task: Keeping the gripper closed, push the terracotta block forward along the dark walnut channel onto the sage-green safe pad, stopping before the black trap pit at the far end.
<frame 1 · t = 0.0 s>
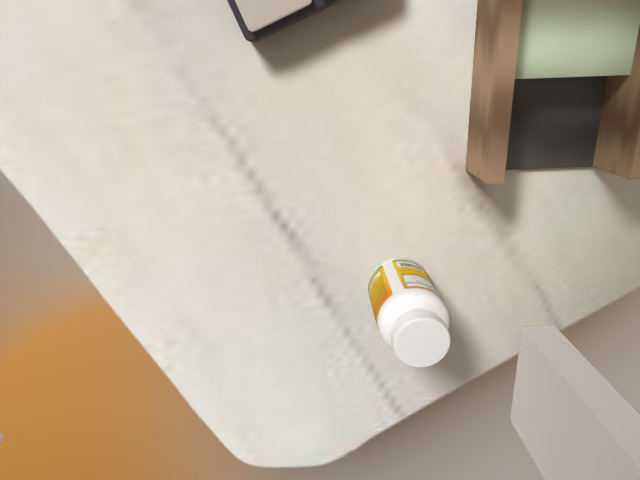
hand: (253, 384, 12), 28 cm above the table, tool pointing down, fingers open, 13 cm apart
supplement bottle: (397, 283, 42), on the table
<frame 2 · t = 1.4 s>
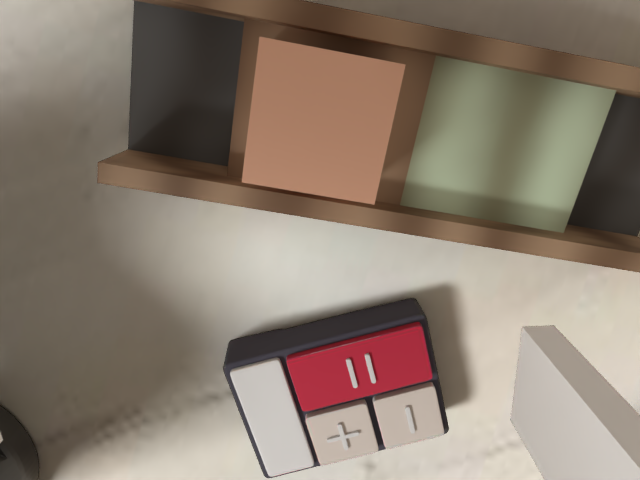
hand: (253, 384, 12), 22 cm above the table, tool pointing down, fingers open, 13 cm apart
calculator: (337, 373, 38), on the table
block: (319, 116, 28), point 3 cm above the table, touching trap channel
trap channel: (407, 128, 31), on the table
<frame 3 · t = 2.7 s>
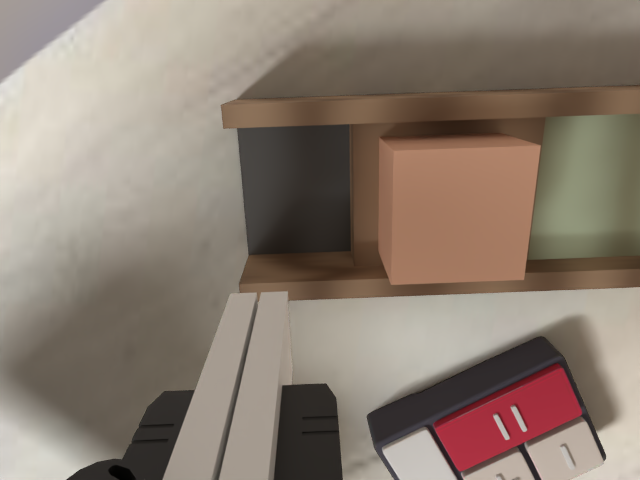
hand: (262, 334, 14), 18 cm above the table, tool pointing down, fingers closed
calculator: (476, 420, 38), on the table
block: (436, 194, 28), point 3 cm above the table, touching trap channel
trap channel: (516, 179, 31), on the table
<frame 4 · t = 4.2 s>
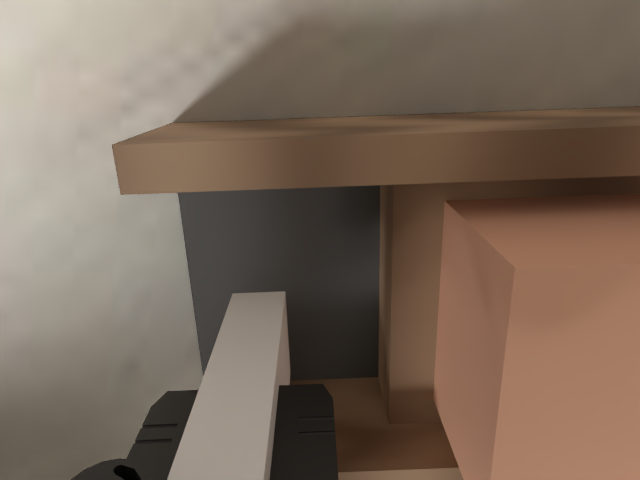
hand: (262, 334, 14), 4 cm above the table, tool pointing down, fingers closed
block: (548, 303, 15), point 3 cm above the table, touching trap channel
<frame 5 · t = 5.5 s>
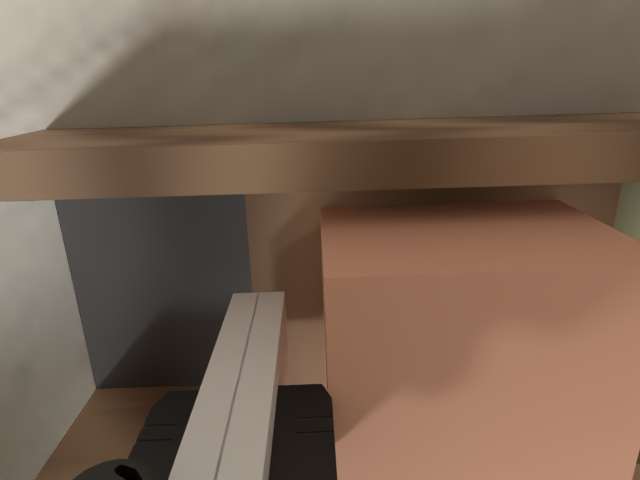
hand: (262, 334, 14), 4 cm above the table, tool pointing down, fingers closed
block: (433, 310, 15), point 3 cm above the table, touching gripper
trap channel: (552, 268, 18), on the table
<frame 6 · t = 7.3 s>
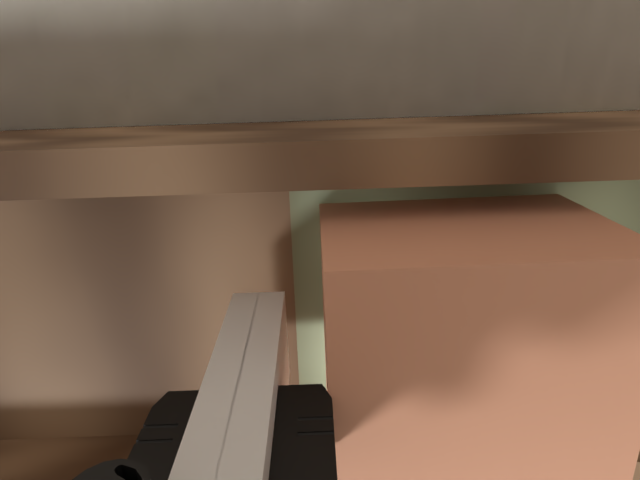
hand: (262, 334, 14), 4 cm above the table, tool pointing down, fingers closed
block: (433, 305, 15), point 3 cm above the table, touching gripper
trap channel: (297, 276, 18), on the table
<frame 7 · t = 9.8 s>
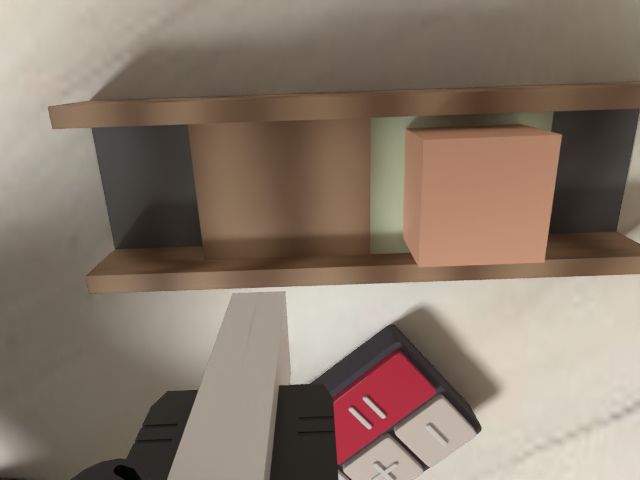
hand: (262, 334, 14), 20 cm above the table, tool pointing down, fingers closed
calculator: (361, 412, 40), on the table
block: (459, 182, 30), point 3 cm above the table, touching trap channel
trap channel: (365, 177, 33), on the table
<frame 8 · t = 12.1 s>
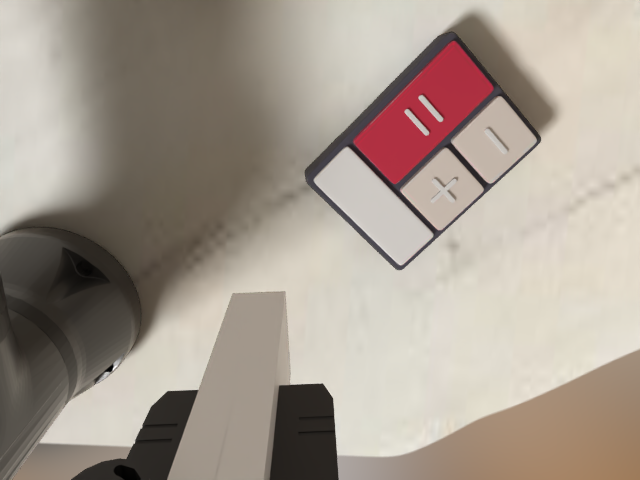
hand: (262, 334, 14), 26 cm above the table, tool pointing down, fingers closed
calculator: (413, 153, 39), on the table
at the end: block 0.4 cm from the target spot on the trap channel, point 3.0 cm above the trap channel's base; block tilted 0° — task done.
